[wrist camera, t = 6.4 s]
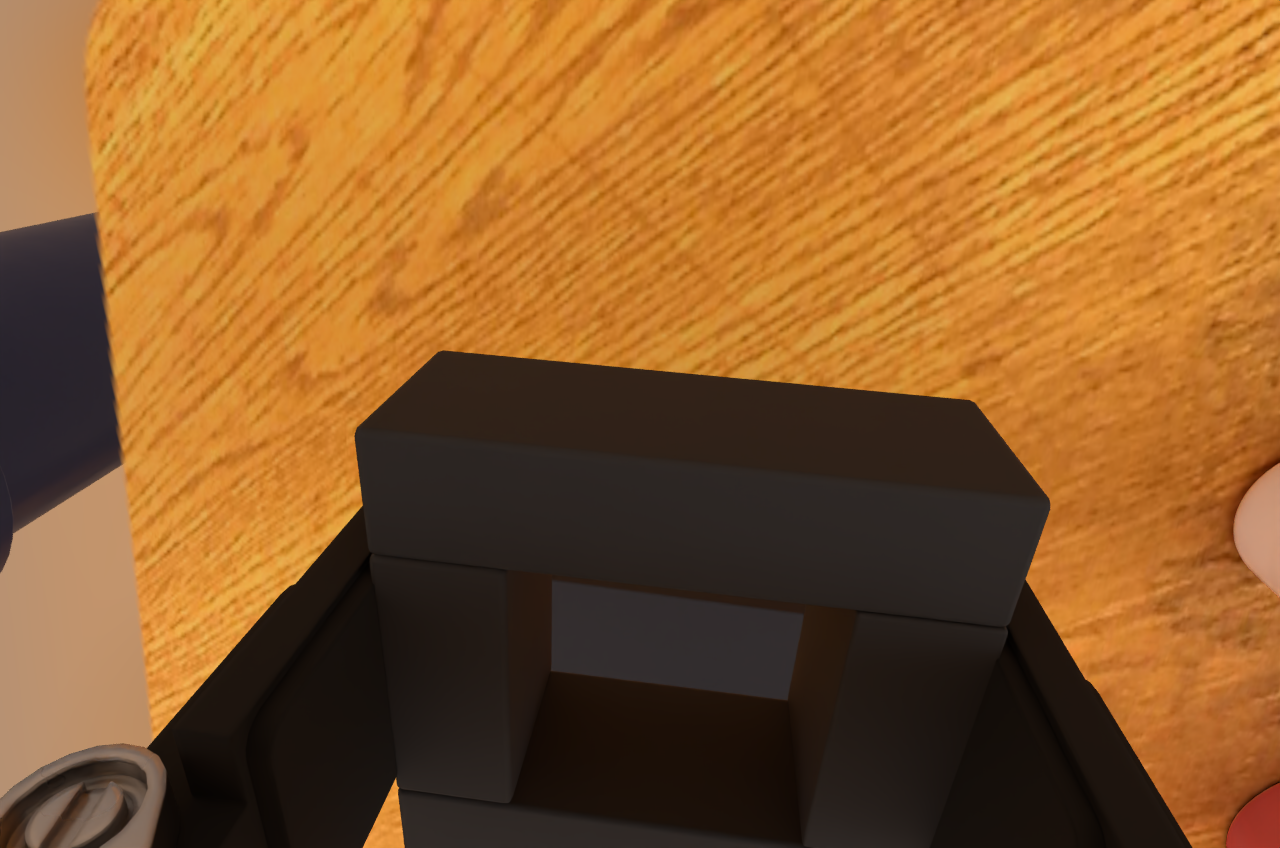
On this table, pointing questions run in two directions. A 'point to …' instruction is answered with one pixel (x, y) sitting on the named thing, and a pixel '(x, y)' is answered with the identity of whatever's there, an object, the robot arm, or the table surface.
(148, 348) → the table surface
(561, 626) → the base pad
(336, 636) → the robot arm
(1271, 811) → the flower pot
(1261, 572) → the drinking glass
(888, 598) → the black square frame
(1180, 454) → the table surface
